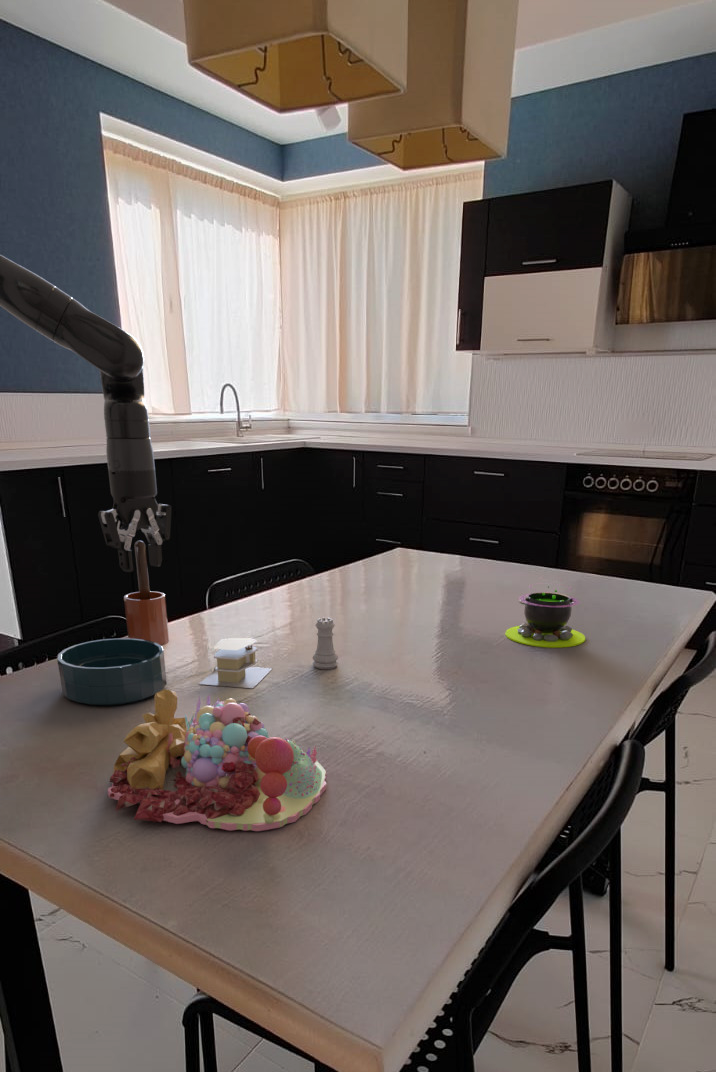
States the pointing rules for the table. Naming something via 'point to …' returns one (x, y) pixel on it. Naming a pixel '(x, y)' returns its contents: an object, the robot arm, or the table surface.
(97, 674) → the bowl
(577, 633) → the toy cauldron
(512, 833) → the table surface
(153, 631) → the crock
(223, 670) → the stacked layers on plate
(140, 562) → the stirring stick
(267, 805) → the pastel sphere sculpture
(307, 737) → the table surface
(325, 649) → the rook chess piece
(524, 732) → the table surface
